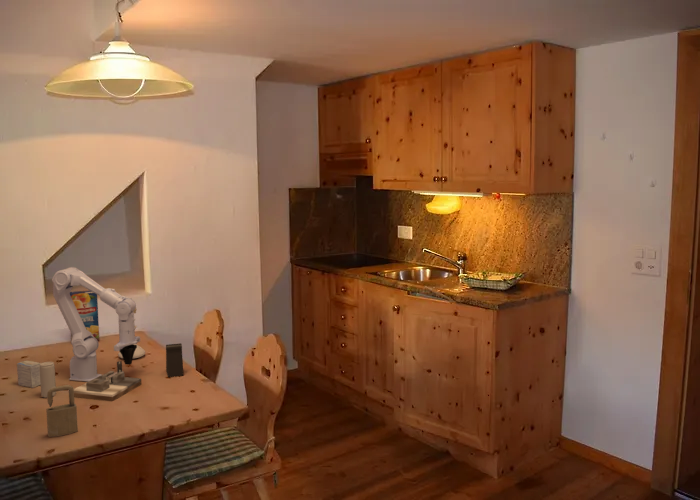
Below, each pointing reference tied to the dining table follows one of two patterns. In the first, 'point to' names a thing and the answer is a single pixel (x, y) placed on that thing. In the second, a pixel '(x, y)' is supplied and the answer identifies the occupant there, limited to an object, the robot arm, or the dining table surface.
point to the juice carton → (87, 310)
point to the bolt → (119, 369)
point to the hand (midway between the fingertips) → (128, 364)
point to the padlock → (61, 414)
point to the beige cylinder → (47, 378)
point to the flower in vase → (139, 350)
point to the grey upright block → (28, 374)
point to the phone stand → (174, 360)
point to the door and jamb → (107, 387)
